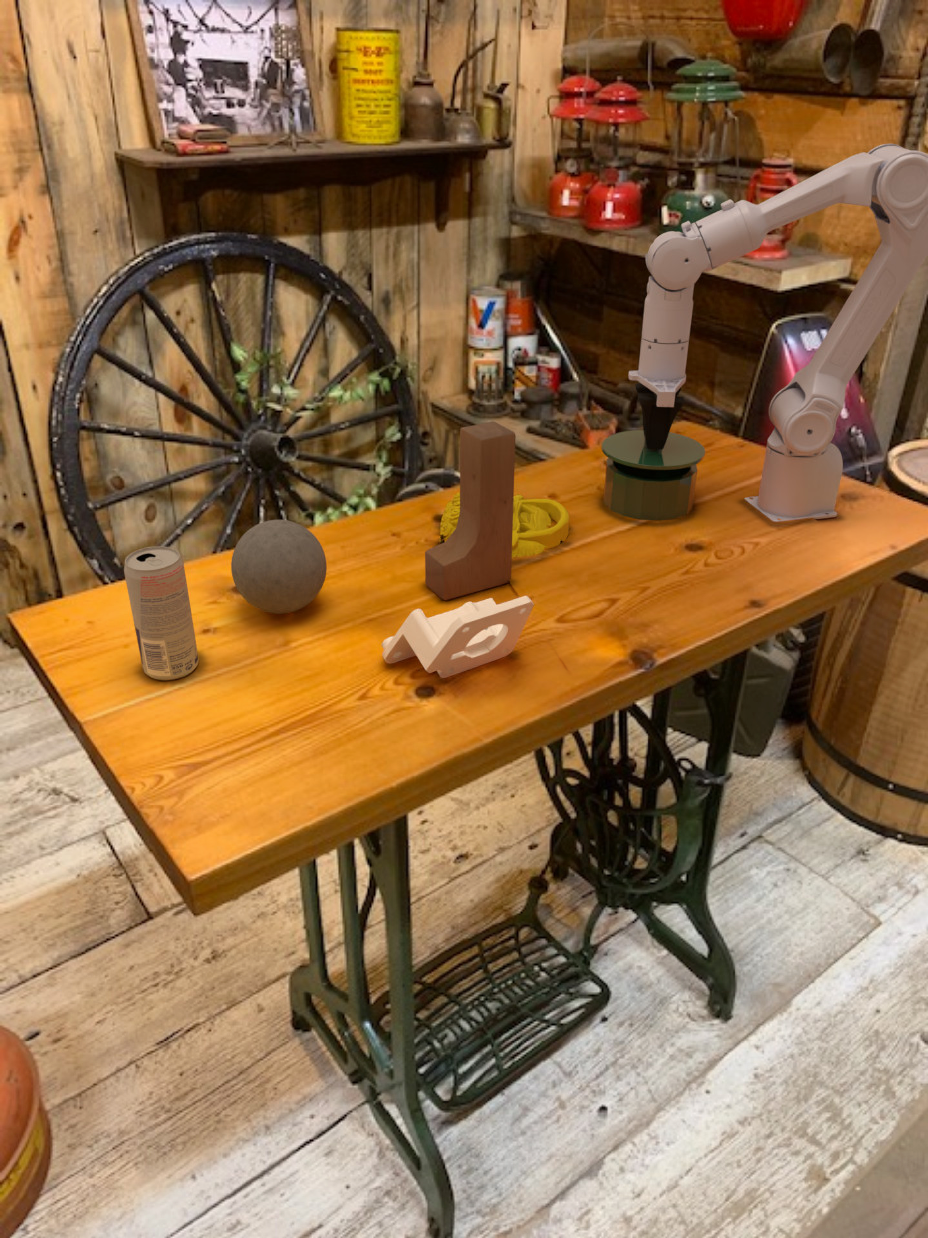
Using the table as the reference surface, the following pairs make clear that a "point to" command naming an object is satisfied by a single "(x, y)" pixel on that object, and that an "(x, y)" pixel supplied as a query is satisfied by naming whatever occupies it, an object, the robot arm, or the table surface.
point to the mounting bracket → (460, 636)
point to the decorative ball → (278, 566)
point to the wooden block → (478, 517)
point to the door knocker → (521, 524)
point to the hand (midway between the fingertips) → (653, 444)
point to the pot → (649, 491)
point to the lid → (653, 451)
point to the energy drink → (161, 612)
